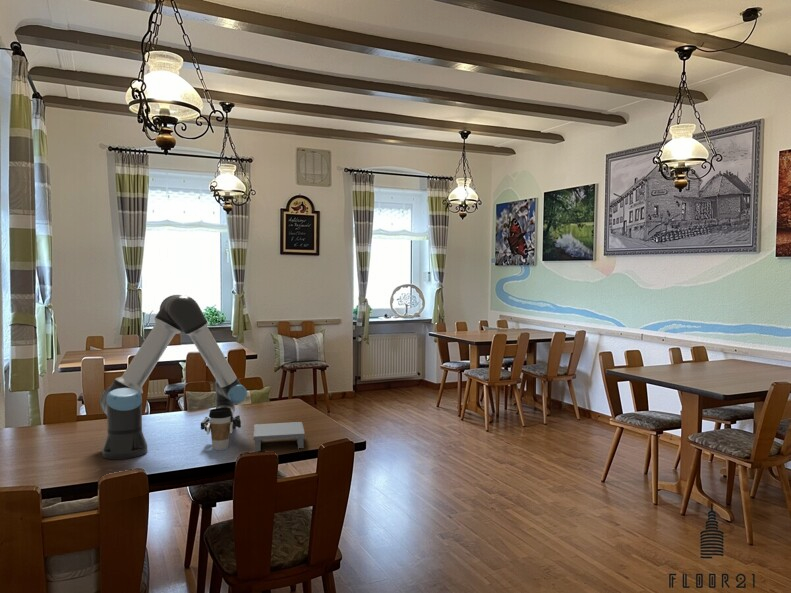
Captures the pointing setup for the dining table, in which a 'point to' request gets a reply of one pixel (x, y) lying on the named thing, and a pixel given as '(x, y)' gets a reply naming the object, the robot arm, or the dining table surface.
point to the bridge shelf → (278, 433)
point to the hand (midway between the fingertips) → (219, 430)
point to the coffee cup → (220, 427)
